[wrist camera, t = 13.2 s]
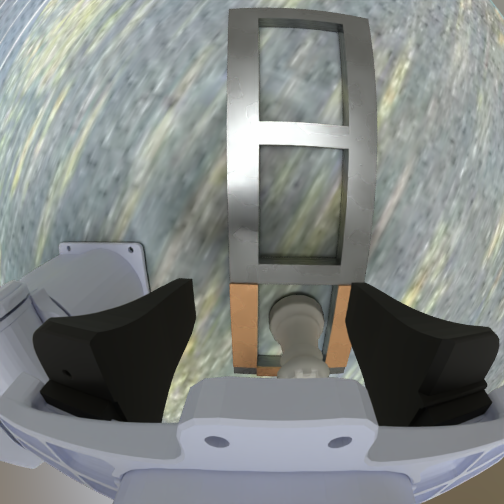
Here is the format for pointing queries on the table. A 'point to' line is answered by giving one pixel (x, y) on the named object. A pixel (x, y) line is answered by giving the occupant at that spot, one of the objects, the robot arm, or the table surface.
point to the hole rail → (304, 135)
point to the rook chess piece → (299, 337)
